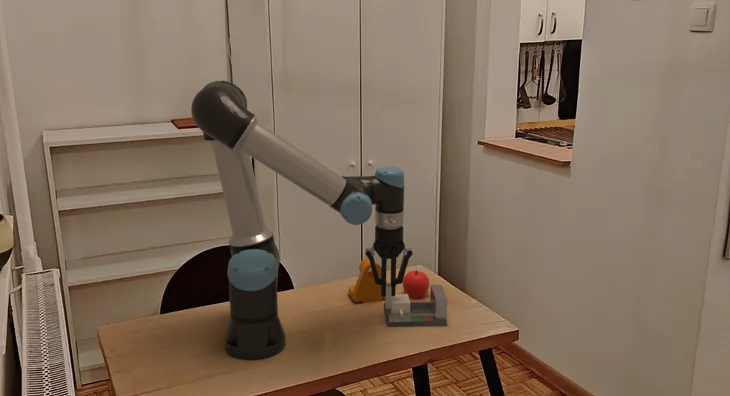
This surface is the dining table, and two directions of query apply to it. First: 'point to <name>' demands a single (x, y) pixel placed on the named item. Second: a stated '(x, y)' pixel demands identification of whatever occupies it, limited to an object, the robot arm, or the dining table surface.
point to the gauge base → (422, 311)
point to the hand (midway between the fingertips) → (388, 306)
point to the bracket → (366, 284)
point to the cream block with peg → (400, 304)
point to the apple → (415, 284)
